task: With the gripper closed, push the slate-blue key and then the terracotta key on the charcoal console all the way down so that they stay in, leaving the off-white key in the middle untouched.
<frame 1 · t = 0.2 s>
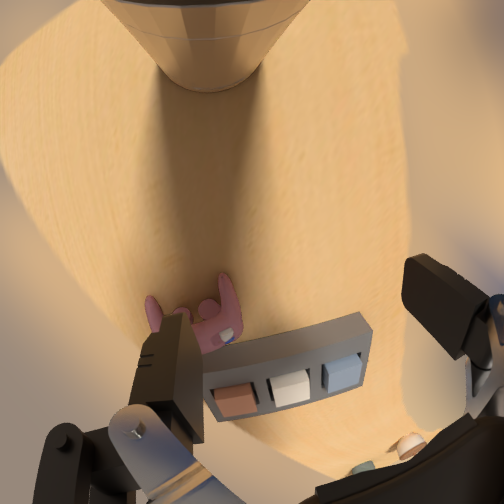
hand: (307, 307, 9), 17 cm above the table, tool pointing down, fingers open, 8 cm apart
grey embossed vase: (361, 465, 72), on the table
terracotta key: (236, 399, 31), point 4 cm above the table, slide at 0.0 cm
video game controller: (194, 301, 29), on the table
off-white key: (290, 387, 31), point 4 cm above the table, slide at 0.0 cm
key console: (282, 364, 35), on the table
slate blue key: (341, 372, 32), point 4 cm above the table, slide at 0.0 cm
lidded jar: (405, 436, 66), on the table
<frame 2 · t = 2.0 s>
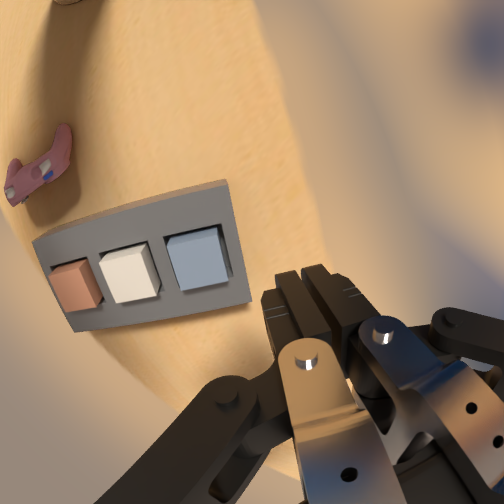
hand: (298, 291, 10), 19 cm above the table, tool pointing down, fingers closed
terracotta key: (75, 285, 24), point 4 cm above the table, slide at 0.0 cm
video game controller: (47, 163, 23), on the table
off-white key: (130, 273, 24), point 4 cm above the table, slide at 0.0 cm
key console: (140, 256, 28), on the table
slate blue key: (198, 258, 25), point 4 cm above the table, slide at 0.0 cm
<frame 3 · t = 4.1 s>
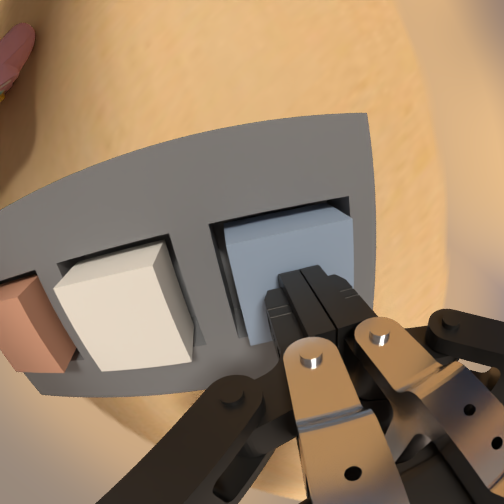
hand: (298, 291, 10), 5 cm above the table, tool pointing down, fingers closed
terracotta key: (25, 326, 10), point 4 cm above the table, slide at 0.0 cm
off-white key: (128, 310, 10), point 4 cm above the table, slide at 0.0 cm
key console: (147, 267, 14), on the table
slate blue key: (290, 272, 11), point 4 cm above the table, slide at 0.3 cm, touching gripper
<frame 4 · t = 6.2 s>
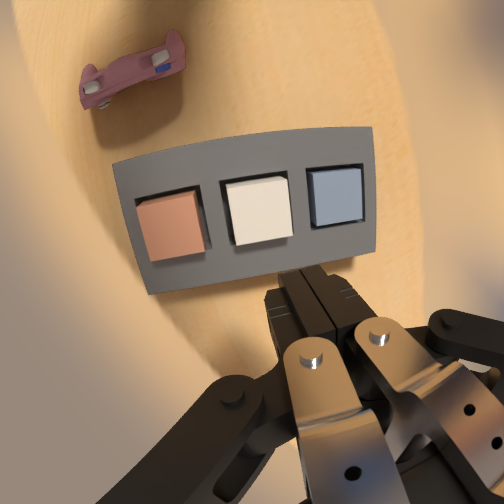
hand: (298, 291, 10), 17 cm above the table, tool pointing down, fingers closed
terracotta key: (172, 225, 21), point 4 cm above the table, slide at 0.0 cm
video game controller: (137, 73, 19), on the table
off-white key: (258, 209, 22), point 4 cm above the table, slide at 0.0 cm
key console: (251, 198, 25), on the table
slate blue key: (333, 194, 23), point 3 cm above the table, slide at 1.2 cm
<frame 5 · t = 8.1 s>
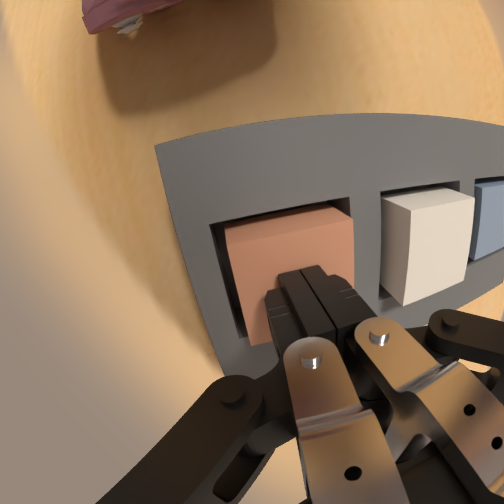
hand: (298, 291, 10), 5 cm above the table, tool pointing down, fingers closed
terracotta key: (291, 273, 11), point 4 cm above the table, slide at 0.3 cm, touching gripper
off-white key: (427, 241, 11), point 4 cm above the table, slide at 0.0 cm
key console: (382, 216, 15), on the table
slate blue key: (483, 214, 13), point 3 cm above the table, slide at 1.2 cm
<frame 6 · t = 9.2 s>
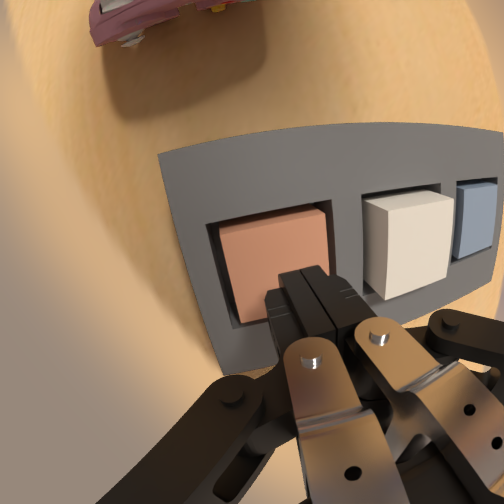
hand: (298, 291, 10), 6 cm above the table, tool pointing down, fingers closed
terracotta key: (275, 260, 13), point 3 cm above the table, slide at 1.2 cm
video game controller: (186, 8, 10), on the table
off-white key: (408, 240, 12), point 4 cm above the table, slide at 0.0 cm
key console: (369, 218, 16), on the table
slate blue key: (468, 215, 14), point 3 cm above the table, slide at 1.2 cm
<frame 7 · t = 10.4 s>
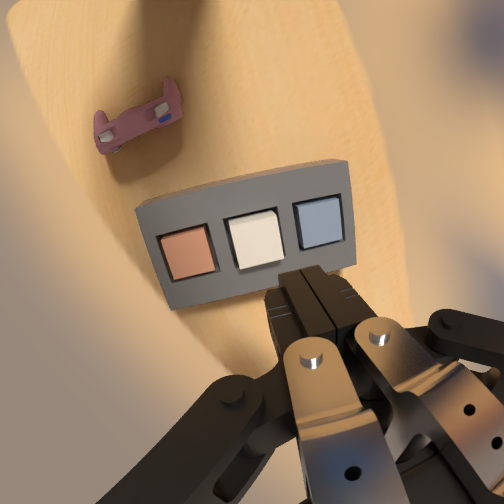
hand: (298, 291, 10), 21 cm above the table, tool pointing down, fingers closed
terracotta key: (189, 251, 28), point 3 cm above the table, slide at 1.2 cm
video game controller: (142, 117, 25), on the table
off-white key: (255, 238, 27), point 4 cm above the table, slide at 0.0 cm
key console: (250, 227, 31), on the table
slate blue key: (317, 220, 29), point 3 cm above the table, slide at 1.2 cm
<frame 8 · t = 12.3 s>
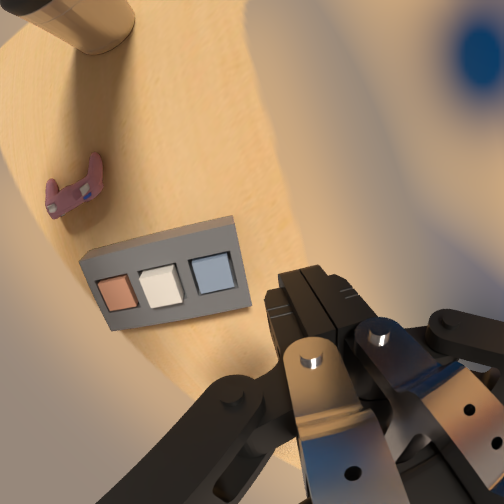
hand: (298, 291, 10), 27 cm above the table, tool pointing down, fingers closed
terracotta key: (119, 290, 35), point 3 cm above the table, slide at 1.2 cm
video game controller: (80, 183, 32), on the table
off-white key: (162, 286, 34), point 4 cm above the table, slide at 0.0 cm
key console: (166, 271, 38), on the table
slate blue key: (213, 271, 36), point 3 cm above the table, slide at 1.2 cm
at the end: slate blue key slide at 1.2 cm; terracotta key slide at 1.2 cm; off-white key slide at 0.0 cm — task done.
